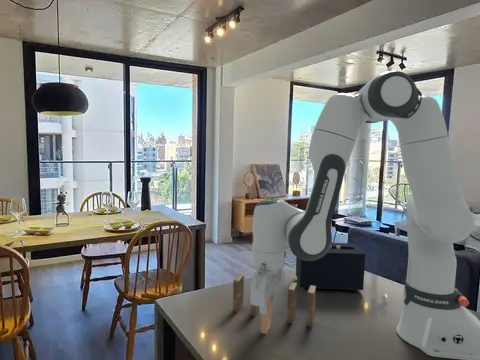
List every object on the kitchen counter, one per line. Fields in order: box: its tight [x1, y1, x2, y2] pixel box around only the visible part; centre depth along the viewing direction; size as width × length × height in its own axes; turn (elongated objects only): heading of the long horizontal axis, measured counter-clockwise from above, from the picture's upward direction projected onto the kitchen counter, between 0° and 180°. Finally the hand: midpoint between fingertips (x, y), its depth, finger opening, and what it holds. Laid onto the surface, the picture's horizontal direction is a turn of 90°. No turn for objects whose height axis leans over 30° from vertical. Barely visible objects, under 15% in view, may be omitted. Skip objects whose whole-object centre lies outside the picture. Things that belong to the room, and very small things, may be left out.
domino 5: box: [305, 285, 317, 328], centre depth 98 cm, size 2×5×10 cm, turn 161°
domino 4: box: [286, 282, 298, 324], centre depth 100 cm, size 2×5×10 cm, turn 161°
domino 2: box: [249, 303, 260, 317], centre depth 103 cm, size 2×5×10 cm, turn 161°
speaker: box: [295, 242, 366, 293], centre depth 124 cm, size 22×13×15 cm, turn 88°
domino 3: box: [260, 294, 273, 335], centre depth 94 cm, size 2×5×10 cm, turn 161°
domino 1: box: [232, 274, 245, 314], centre depth 105 cm, size 2×5×10 cm, turn 161°
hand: (266, 307), depth 94 cm, fingers closed on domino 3, 5 cm apart
